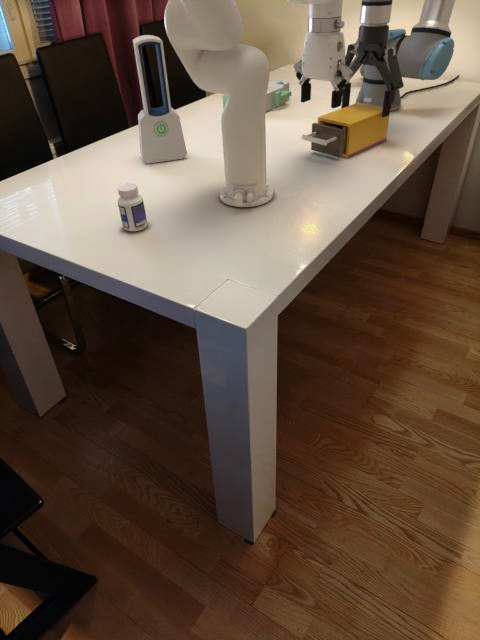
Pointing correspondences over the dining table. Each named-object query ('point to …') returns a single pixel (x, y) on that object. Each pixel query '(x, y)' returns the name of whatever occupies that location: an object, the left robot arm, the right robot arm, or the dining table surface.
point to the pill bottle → (131, 208)
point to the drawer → (328, 138)
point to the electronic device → (157, 113)
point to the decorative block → (272, 94)
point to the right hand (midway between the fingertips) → (364, 112)
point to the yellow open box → (359, 126)
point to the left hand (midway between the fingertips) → (320, 104)
